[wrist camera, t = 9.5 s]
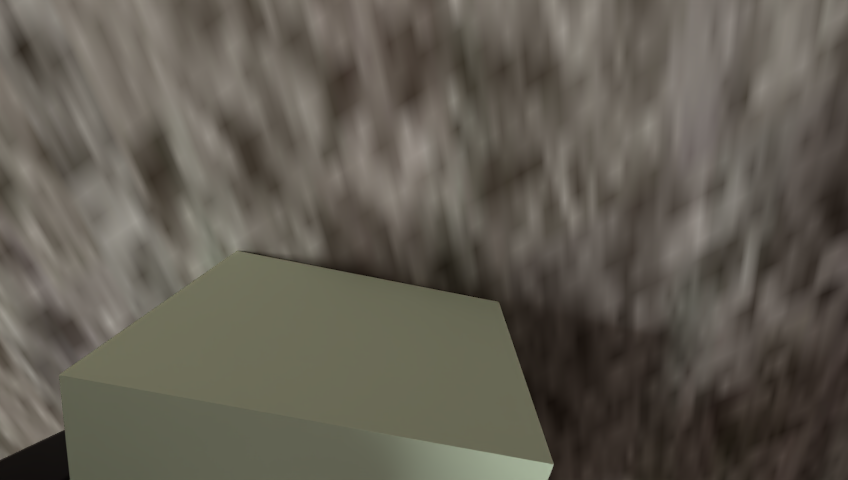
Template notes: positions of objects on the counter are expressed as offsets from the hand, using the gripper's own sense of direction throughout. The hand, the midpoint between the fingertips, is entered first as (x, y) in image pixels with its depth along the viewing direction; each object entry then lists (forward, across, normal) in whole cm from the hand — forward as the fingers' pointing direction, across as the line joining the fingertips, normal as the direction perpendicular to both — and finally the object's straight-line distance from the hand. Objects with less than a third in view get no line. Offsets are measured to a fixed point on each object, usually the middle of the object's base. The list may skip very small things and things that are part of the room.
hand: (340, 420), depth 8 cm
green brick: (+1, 0, 0) cm, 1 cm away
